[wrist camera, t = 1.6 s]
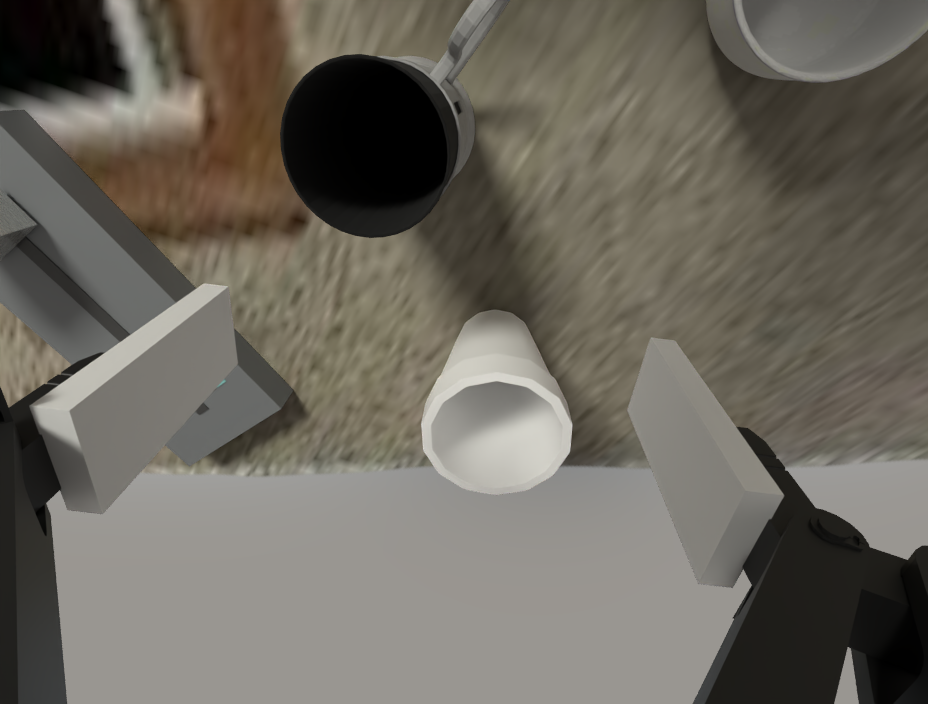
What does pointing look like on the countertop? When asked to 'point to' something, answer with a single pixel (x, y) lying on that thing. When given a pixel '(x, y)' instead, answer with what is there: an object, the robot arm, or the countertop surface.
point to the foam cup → (496, 410)
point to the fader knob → (12, 224)
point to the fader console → (107, 282)
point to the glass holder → (383, 132)
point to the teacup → (814, 35)
